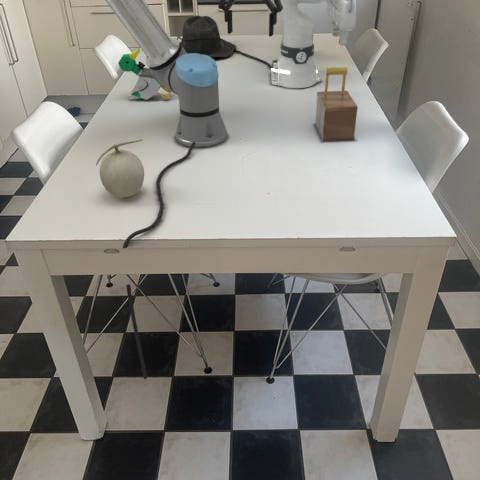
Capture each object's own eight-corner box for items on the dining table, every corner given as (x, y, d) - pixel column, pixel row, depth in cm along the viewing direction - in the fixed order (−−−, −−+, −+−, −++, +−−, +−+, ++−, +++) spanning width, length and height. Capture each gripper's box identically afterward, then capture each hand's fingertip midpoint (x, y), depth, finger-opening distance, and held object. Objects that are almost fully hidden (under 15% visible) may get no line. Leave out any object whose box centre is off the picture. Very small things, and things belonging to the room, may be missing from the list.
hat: (239, 41, 247) (238, 8, 239) (231, 62, 218) (230, 27, 210) (174, 40, 250) (171, 9, 242) (157, 62, 221) (153, 26, 213)
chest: (315, 124, 162) (317, 96, 157) (344, 123, 163) (347, 95, 157) (322, 141, 152) (324, 111, 146) (353, 140, 152) (357, 110, 147)
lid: (316, 95, 158) (318, 65, 152) (346, 94, 158) (349, 63, 153) (324, 111, 146) (327, 79, 141) (357, 110, 147) (360, 78, 141)
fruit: (93, 194, 129) (82, 138, 120) (134, 179, 134) (126, 125, 126) (112, 211, 122) (101, 153, 113) (154, 195, 128) (147, 139, 119)
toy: (179, 80, 179) (129, 44, 172) (154, 118, 185) (104, 85, 178) (180, 75, 184) (131, 40, 177) (155, 113, 190) (107, 81, 184)
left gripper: (294, -43, 151) (291, 33, 163) (214, -44, 157) (217, 29, 169) (288, -39, 145) (286, 39, 157) (206, -41, 151) (209, 34, 163)
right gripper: (364, -7, 129) (358, 50, 137) (347, -20, 146) (342, 31, 154) (339, -6, 129) (335, 50, 137) (324, -20, 146) (321, 32, 154)
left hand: (250, 34), depth 163 cm, fingers open, 13 cm apart
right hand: (338, 40), depth 145 cm, fingers open, 8 cm apart
